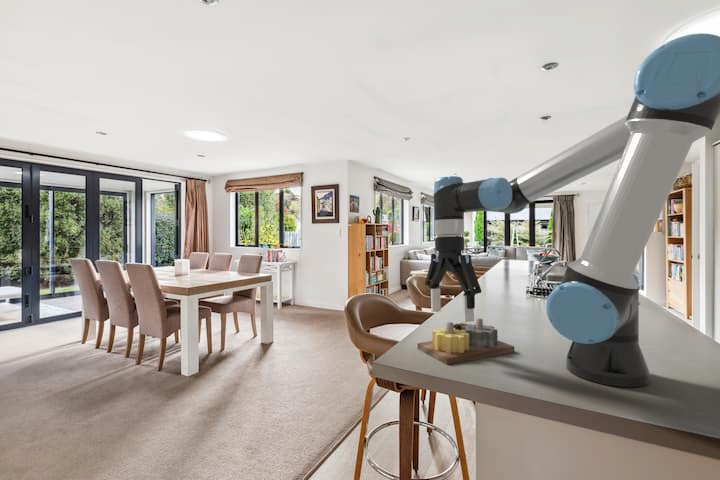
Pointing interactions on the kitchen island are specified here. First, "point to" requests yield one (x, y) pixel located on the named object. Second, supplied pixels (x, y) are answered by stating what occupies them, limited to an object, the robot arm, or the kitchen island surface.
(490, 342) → the gear board
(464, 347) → the mustard gear
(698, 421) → the kitchen island surface
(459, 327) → the regulator
